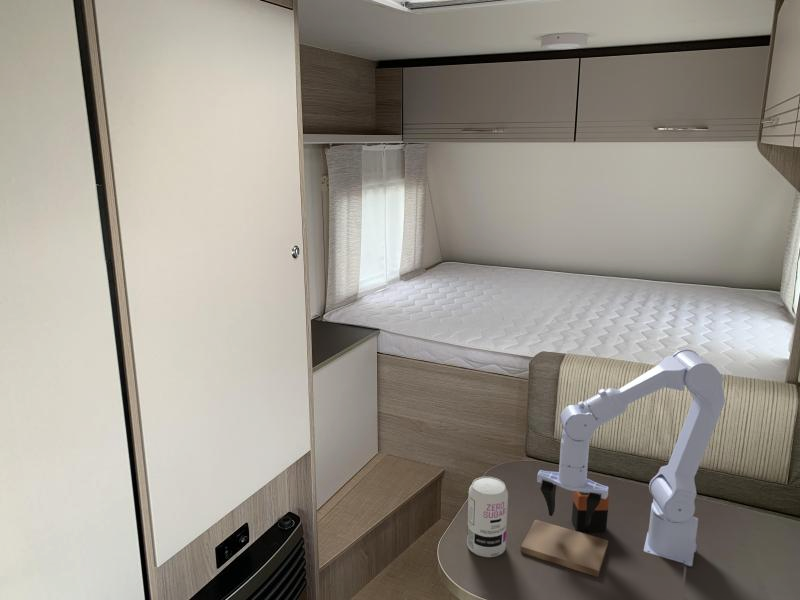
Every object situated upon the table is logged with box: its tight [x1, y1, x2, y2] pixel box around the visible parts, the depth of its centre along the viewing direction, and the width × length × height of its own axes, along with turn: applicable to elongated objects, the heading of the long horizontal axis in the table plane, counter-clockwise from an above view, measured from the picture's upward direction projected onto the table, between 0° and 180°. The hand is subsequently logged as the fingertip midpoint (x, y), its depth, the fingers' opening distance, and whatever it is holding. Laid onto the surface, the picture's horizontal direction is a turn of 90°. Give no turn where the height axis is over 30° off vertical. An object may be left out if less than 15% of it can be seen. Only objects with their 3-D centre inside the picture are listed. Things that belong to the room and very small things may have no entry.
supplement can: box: [466, 476, 509, 558], centre depth 126 cm, size 8×8×15 cm
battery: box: [571, 491, 610, 533], centre depth 133 cm, size 4×7×10 cm, turn 91°
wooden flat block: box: [520, 519, 609, 578], centre depth 127 cm, size 16×11×2 cm
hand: (569, 518), depth 128 cm, fingers open, 7 cm apart
